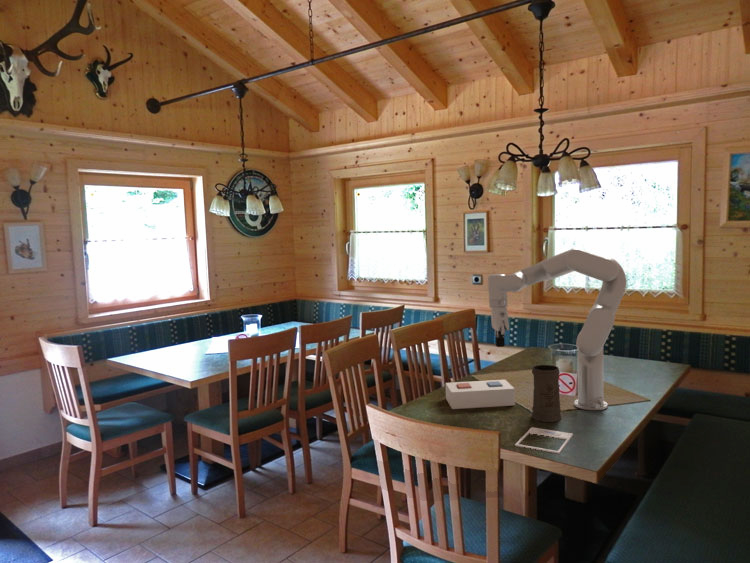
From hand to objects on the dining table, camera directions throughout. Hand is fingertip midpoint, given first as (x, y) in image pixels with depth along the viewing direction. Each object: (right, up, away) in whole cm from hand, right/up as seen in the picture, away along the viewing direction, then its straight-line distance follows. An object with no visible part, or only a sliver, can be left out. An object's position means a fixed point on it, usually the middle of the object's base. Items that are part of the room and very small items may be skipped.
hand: (500, 346), depth 238 cm
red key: (-16, -20, -1) cm, 25 cm away
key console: (-9, -23, -1) cm, 25 cm away
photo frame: (+5, -28, -45) cm, 53 cm away
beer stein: (+12, -25, -21) cm, 34 cm away
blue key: (-3, -19, -1) cm, 20 cm away
